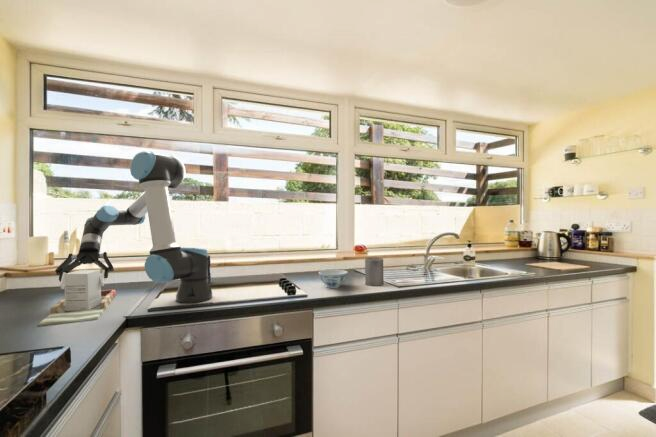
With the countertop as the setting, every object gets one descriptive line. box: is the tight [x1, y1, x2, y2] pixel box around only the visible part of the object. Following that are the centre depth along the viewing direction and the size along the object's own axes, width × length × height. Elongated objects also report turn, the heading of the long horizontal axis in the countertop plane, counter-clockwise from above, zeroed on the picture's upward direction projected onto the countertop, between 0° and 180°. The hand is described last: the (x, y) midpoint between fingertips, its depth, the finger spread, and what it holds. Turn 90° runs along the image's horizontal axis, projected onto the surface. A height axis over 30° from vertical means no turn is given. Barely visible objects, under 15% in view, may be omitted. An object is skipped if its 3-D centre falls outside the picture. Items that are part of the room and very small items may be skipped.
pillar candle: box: [364, 256, 385, 287], centre depth 174 cm, size 10×10×15 cm
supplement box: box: [64, 269, 102, 312], centre depth 134 cm, size 9×9×15 cm
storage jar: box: [207, 254, 212, 285], centre depth 178 cm, size 10×10×15 cm
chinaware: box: [318, 268, 349, 289], centre depth 169 cm, size 15×15×8 cm
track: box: [38, 288, 117, 327], centre depth 134 cm, size 40×17×3 cm, turn 25°
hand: (82, 285), depth 135 cm, fingers open, 13 cm apart
